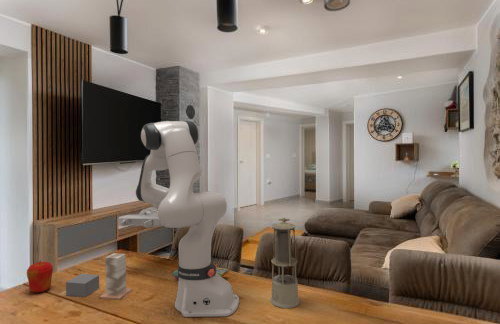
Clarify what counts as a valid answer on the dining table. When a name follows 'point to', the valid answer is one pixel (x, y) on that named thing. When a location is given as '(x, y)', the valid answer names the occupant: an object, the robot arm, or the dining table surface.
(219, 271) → the puzzle game
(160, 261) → the dining table surface
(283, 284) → the lamp
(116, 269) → the cream block
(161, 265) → the dining table surface
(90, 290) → the charcoal plinth
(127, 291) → the terracotta tile
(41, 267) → the apple
